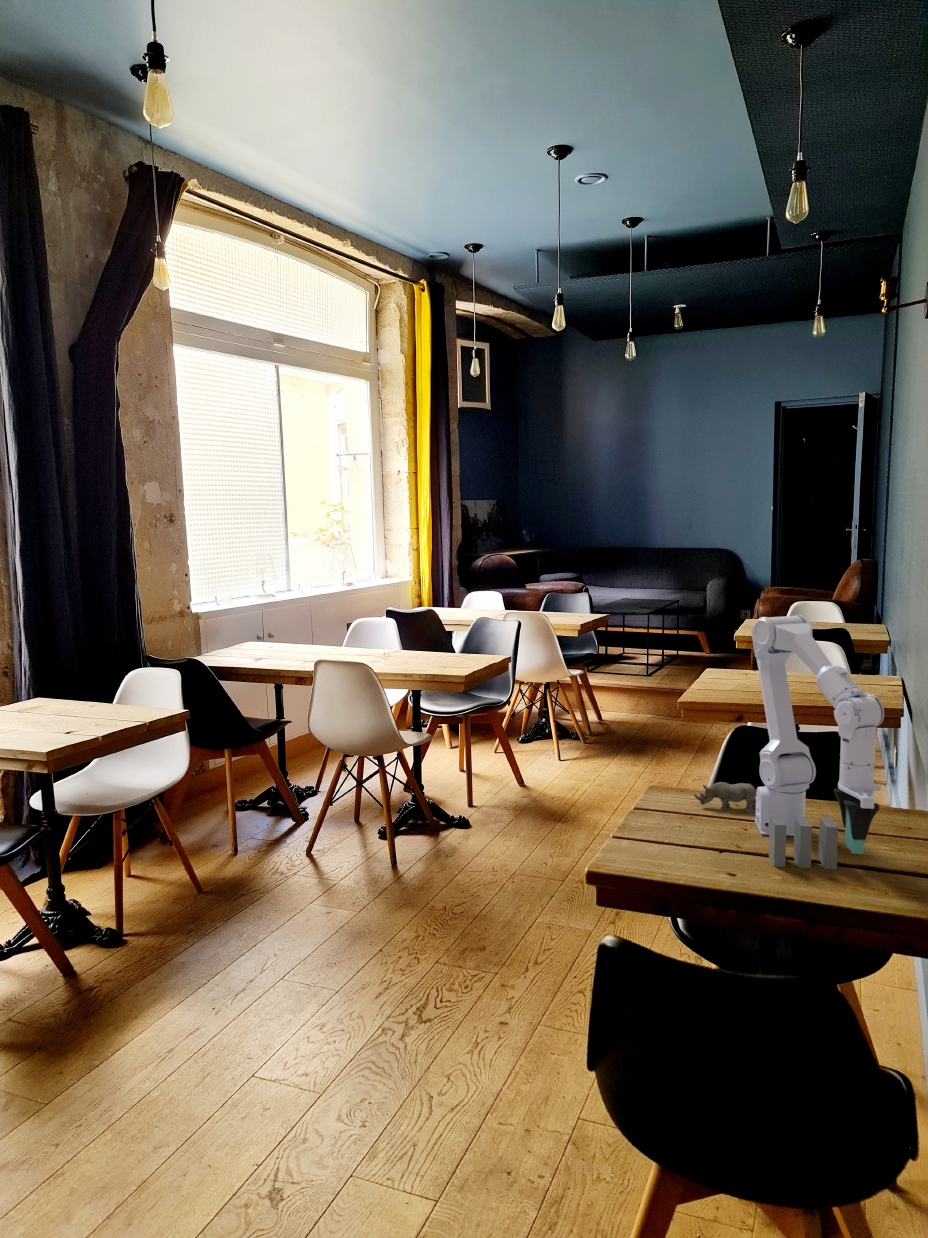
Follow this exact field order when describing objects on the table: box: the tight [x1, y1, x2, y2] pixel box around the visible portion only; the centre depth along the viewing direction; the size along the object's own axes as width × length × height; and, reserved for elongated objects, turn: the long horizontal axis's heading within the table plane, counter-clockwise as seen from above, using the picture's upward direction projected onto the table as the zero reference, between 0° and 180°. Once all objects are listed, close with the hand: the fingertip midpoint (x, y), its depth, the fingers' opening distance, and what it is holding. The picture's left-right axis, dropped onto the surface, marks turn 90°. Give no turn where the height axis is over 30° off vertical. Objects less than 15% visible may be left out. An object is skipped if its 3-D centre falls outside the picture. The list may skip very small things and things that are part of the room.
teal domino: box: [844, 808, 866, 855], centre depth 157 cm, size 2×5×8 cm, turn 171°
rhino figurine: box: [693, 781, 757, 813], centre depth 189 cm, size 4×14×6 cm, turn 79°
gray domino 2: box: [793, 816, 813, 869], centre depth 159 cm, size 2×5×8 cm, turn 171°
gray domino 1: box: [768, 816, 787, 868], centre depth 160 cm, size 2×5×8 cm, turn 171°
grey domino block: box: [817, 816, 839, 870], centre depth 158 cm, size 2×5×8 cm, turn 171°
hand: (854, 833), depth 157 cm, fingers closed on teal domino, 5 cm apart
